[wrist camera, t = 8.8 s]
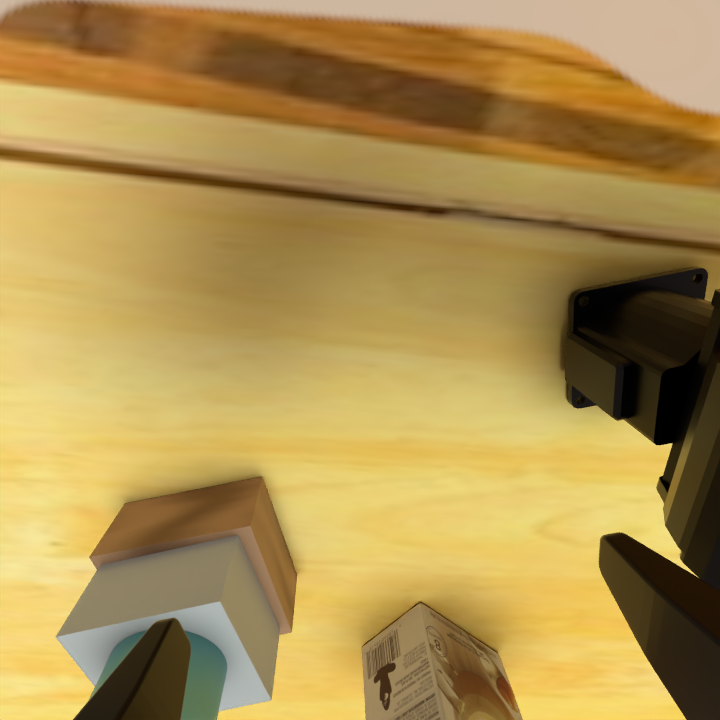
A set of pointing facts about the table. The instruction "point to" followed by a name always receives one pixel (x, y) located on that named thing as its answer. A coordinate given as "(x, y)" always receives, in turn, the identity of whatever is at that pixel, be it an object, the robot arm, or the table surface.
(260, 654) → the tower top
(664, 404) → the robot arm
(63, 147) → the table surface
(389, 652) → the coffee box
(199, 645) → the teal cylinder
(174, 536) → the tower base
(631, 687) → the table surface
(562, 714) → the table surface
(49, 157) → the table surface
